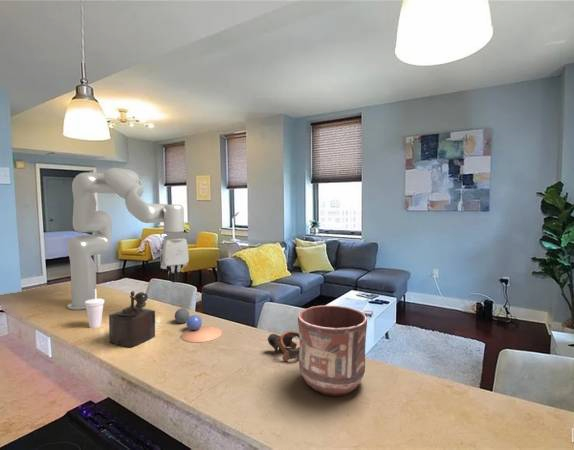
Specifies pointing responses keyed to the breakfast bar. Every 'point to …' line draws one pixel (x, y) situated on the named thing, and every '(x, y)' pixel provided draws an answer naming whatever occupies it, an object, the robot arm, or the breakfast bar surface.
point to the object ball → (194, 322)
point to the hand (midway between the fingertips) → (174, 281)
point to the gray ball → (181, 315)
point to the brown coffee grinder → (132, 323)
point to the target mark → (201, 334)
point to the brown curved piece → (285, 344)
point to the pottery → (332, 348)
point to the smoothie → (94, 311)
